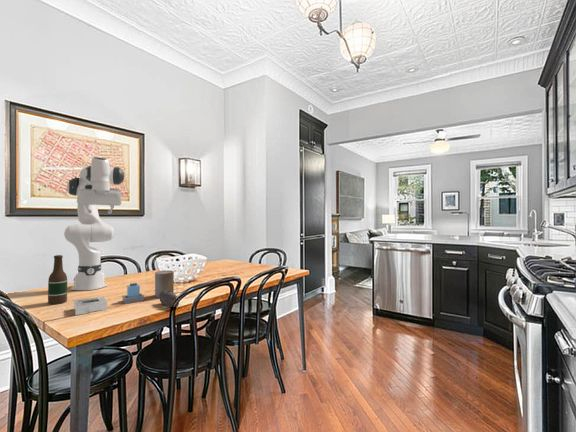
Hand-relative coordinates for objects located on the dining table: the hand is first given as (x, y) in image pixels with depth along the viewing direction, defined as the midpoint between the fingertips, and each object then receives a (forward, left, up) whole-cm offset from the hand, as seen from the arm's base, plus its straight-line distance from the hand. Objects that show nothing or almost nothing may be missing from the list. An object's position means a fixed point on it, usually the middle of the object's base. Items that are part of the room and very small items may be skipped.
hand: (99, 213), depth 163 cm
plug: (+16, +14, -45) cm, 50 cm away
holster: (+16, +14, -46) cm, 50 cm away
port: (+19, -5, -46) cm, 49 cm away
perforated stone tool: (+35, +27, -46) cm, 63 cm away
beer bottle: (-4, -17, -46) cm, 49 cm away
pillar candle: (+14, +30, -46) cm, 56 cm away
